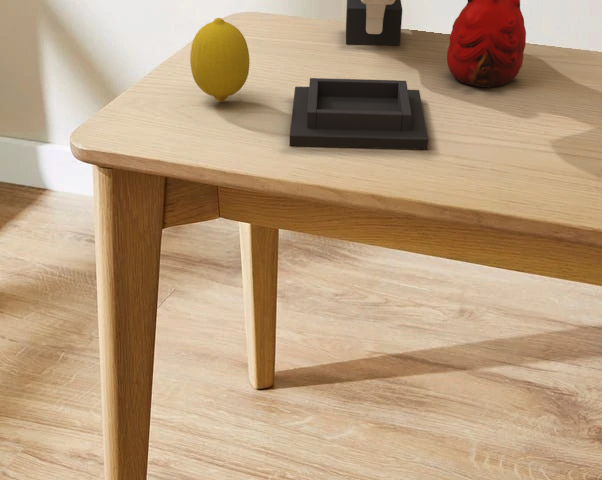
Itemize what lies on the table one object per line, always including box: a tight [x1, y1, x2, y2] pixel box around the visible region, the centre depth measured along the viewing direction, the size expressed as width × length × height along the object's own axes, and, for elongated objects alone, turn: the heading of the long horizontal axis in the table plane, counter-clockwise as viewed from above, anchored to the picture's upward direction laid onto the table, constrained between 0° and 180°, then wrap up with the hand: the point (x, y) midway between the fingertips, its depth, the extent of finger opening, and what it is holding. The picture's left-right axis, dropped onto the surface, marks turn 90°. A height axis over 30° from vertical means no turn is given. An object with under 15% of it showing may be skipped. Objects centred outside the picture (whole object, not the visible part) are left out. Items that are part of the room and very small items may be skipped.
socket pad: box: [289, 77, 429, 151], centre depth 89 cm, size 12×12×2 cm
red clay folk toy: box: [446, 0, 527, 88], centre depth 95 cm, size 8×7×15 cm
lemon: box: [189, 17, 251, 103], centre depth 91 cm, size 6×6×8 cm
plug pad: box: [345, 0, 403, 46], centre depth 110 cm, size 6×6×4 cm
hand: (372, 22), depth 110 cm, fingers closed on plug pad, 5 cm apart
